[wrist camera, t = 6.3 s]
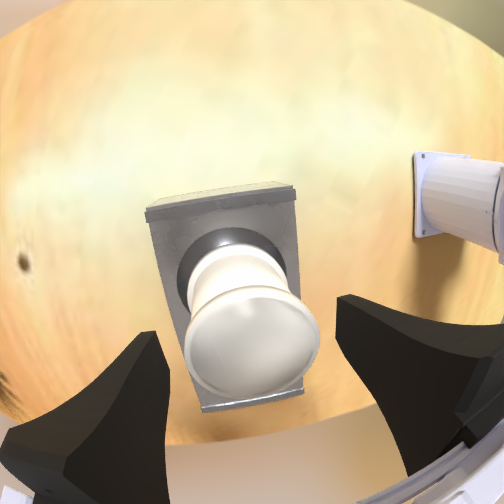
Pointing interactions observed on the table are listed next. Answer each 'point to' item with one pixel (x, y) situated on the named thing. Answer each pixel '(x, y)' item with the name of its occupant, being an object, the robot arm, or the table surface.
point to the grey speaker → (217, 234)
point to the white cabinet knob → (246, 325)
